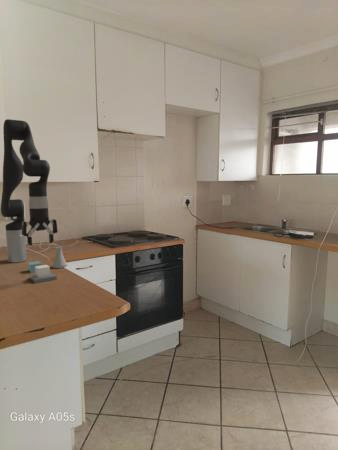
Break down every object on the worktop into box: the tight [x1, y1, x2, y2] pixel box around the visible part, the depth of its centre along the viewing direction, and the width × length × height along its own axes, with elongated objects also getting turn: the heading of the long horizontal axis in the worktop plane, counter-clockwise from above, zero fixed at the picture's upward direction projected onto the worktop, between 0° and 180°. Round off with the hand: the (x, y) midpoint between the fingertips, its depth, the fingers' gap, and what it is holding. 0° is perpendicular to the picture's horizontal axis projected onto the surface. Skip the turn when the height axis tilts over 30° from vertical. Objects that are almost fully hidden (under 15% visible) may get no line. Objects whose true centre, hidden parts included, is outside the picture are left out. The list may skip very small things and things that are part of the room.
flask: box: [52, 246, 68, 269], centre depth 164 cm, size 7×7×10 cm
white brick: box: [34, 264, 51, 278], centre depth 144 cm, size 5×5×4 cm
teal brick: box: [27, 261, 42, 274], centre depth 157 cm, size 5×5×4 cm
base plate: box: [28, 271, 57, 284], centre depth 144 cm, size 9×9×2 cm
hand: (40, 244), depth 142 cm, fingers open, 8 cm apart
